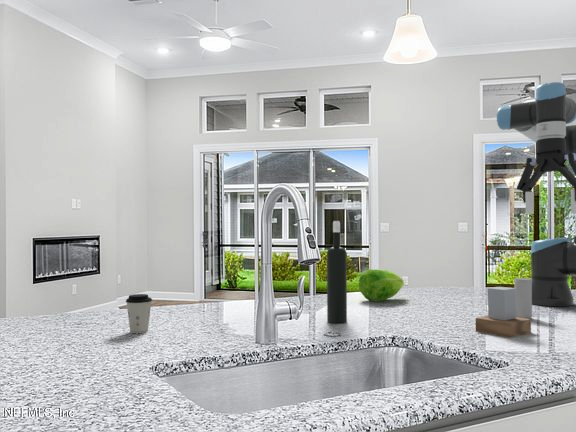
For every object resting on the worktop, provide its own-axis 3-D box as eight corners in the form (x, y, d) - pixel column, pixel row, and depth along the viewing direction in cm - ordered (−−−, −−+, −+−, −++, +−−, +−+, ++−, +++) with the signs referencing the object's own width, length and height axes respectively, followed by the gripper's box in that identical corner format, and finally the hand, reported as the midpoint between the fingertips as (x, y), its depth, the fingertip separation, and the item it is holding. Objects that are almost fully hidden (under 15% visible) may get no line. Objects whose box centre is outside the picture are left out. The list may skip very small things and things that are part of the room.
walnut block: (496, 328, 145) (496, 313, 145) (531, 334, 137) (530, 319, 137) (475, 332, 139) (475, 317, 139) (510, 339, 131) (510, 323, 131)
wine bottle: (350, 321, 153) (350, 220, 153) (338, 324, 149) (338, 220, 149) (335, 319, 157) (334, 220, 157) (323, 321, 153) (322, 220, 153)
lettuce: (416, 300, 193) (416, 268, 193) (376, 305, 182) (376, 271, 182) (390, 295, 204) (390, 265, 204) (351, 300, 194) (351, 268, 194)
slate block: (499, 315, 142) (498, 286, 142) (516, 318, 138) (515, 288, 138) (488, 317, 139) (487, 288, 139) (505, 320, 135) (504, 289, 135)
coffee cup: (157, 330, 142) (157, 294, 142) (142, 335, 136) (142, 297, 136) (136, 328, 145) (135, 293, 145) (120, 333, 138) (120, 296, 138)
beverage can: (533, 319, 155) (533, 279, 155) (516, 319, 156) (516, 279, 156) (529, 316, 159) (529, 277, 159) (513, 316, 160) (512, 277, 160)
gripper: (504, 143, 154) (504, 214, 154) (587, 130, 133) (588, 213, 133) (519, 145, 158) (520, 214, 158) (603, 133, 137) (604, 213, 136)
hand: (551, 213), depth 145 cm, fingers open, 13 cm apart
